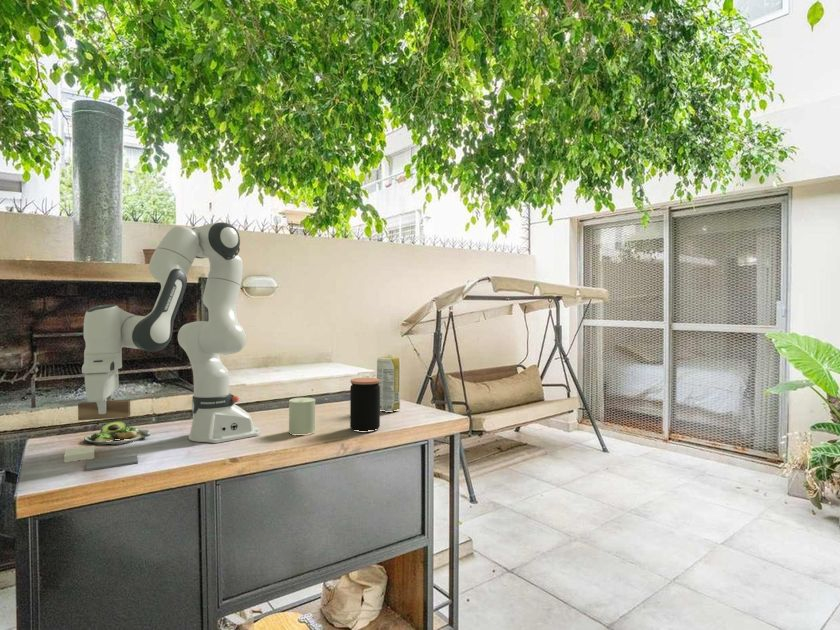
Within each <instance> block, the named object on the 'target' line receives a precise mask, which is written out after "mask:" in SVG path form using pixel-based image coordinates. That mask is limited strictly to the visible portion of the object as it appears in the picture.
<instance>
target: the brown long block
mask: <svg viewBox="0 0 840 630" xmlns="http://www.w3.org/2000/svg"><path fill="white" fill-rule="evenodd" d="M77 405H78V406H77V415H78V416H77V417H78V419H77V421H89V420H94V421H95V420H105V419H107V420H109V419H121V418H122V419H123V418H129V417H130V416H131V399H117V400H116V399H114V400H112V399H111V401H106V406H107V412H106V413H105V414H99V413H98V406H97V403H96V402H88V401H80V402H79V403H78V404H77Z"/></svg>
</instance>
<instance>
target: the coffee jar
mask: <svg viewBox="0 0 840 630" xmlns="http://www.w3.org/2000/svg"><path fill="white" fill-rule="evenodd" d="M379 382H380V379H377V377H356V378H351V379H350V383H351V385H350V388H349V390H350V392H349V393H350V397H349V398H350V400H349V401H350V402H349V403H350V406H349V408H350V411H349V413H350V417H349V418H350V420H349V422H350V425H349V427H350V429H351V430H352V429H353V430H359V431H368V430H375V429H378V430H379V428H380V426H381V425H380V424H381V421H380V420H381V418H380V417H381V411H380V386H379ZM353 430H352V431H353Z"/></svg>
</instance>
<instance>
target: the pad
mask: <svg viewBox="0 0 840 630" xmlns="http://www.w3.org/2000/svg"><path fill="white" fill-rule="evenodd" d="M138 464H139V458H138V454H134V455H132V454H131V455H127V456H125V455H124V456H119V457H111V458H104V459H103V458H102V459H97V460H96V459H95V460H88V461H87V462H86V468H85V469H86V471H87V470H89V471H95V470H94V469H96V470H101V469H100V468H103V469H107V468H106V467H110V468H114V467H113V466H117V467H124V466H129V465H138ZM87 472H88V471H87Z"/></svg>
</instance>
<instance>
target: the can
mask: <svg viewBox="0 0 840 630" xmlns="http://www.w3.org/2000/svg"><path fill="white" fill-rule="evenodd" d="M288 410H289V411H288V412H289V413H288V416H289V417H288V421H289V422H288V434H289V433H291V434H308V433H312V432H314V431H316V398H313V397H295V398H291V399H289V400H288Z"/></svg>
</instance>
